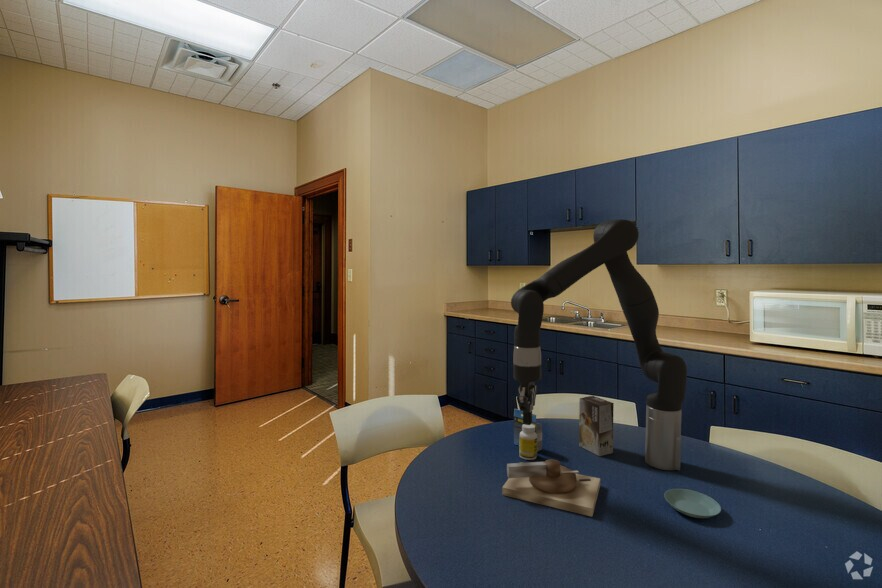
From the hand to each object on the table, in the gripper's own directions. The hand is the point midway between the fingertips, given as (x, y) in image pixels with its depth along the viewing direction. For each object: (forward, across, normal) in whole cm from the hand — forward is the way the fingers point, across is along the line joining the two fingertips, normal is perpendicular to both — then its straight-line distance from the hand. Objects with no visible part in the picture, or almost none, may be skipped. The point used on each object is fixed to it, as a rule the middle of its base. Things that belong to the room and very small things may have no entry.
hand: (527, 423), depth 118 cm
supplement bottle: (+15, +12, +3) cm, 20 cm away
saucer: (+16, +1, -40) cm, 43 cm away
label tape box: (+16, +20, +5) cm, 25 cm away
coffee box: (+16, +27, -15) cm, 35 cm away
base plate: (+15, -4, -8) cm, 18 cm away
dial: (+13, -6, -6) cm, 15 cm away
